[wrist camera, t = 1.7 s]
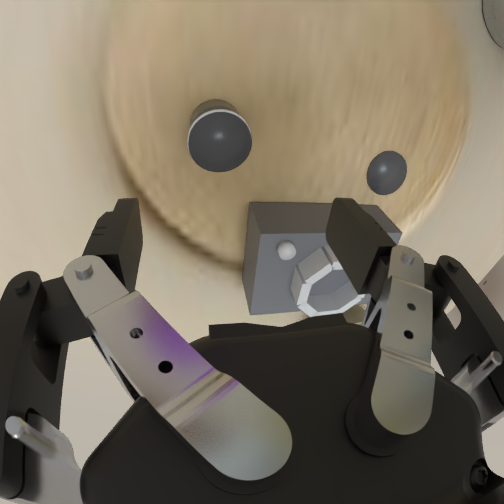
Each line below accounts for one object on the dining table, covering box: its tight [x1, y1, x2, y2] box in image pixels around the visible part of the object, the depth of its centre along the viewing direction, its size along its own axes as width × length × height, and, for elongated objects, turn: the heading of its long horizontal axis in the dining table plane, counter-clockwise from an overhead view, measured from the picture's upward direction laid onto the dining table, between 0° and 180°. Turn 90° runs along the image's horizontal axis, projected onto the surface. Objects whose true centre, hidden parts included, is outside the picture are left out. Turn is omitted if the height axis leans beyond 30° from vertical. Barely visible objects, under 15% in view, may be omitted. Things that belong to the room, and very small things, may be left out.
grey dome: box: [367, 151, 407, 195], centre depth 31 cm, size 6×6×1 cm
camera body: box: [242, 202, 402, 317], centre depth 33 cm, size 16×11×8 cm
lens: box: [187, 99, 252, 172], centre depth 22 cm, size 5×5×7 cm
